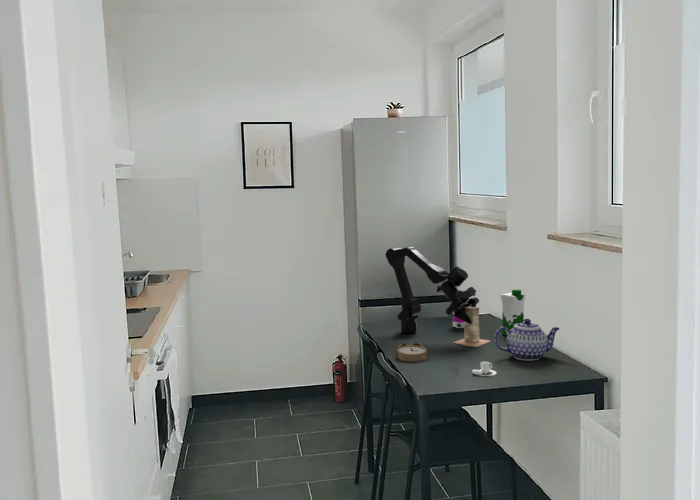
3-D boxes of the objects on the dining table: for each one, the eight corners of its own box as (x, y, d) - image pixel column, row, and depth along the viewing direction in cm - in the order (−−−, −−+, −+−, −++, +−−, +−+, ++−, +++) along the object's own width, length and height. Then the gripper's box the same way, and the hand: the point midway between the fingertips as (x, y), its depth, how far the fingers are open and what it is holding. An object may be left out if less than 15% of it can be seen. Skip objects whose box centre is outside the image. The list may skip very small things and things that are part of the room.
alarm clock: (399, 355, 251) (394, 339, 266) (399, 367, 253) (394, 350, 267) (429, 354, 252) (422, 338, 266) (428, 366, 253) (422, 349, 268)
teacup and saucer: (473, 377, 231) (472, 365, 231) (470, 370, 239) (469, 359, 239) (498, 377, 231) (498, 365, 231) (494, 370, 239) (494, 359, 238)
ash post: (464, 341, 279) (463, 308, 278) (470, 339, 282) (469, 306, 282) (474, 342, 276) (473, 308, 275) (480, 340, 279) (479, 307, 279)
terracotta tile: (453, 343, 279) (453, 342, 279) (468, 338, 287) (468, 337, 287) (476, 347, 271) (476, 345, 271) (490, 342, 279) (490, 340, 279)
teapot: (497, 363, 247) (497, 323, 246) (490, 352, 262) (490, 315, 261) (565, 362, 246) (566, 322, 245) (554, 351, 262) (554, 314, 260)
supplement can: (472, 329, 305) (471, 296, 303) (454, 329, 305) (453, 297, 304) (469, 325, 313) (469, 293, 312) (451, 325, 313) (451, 294, 312)
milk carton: (513, 337, 286) (513, 292, 284) (498, 334, 293) (498, 289, 291) (527, 335, 290) (527, 289, 288) (512, 331, 298) (512, 287, 296)
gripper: (451, 284, 272) (475, 313, 266) (475, 278, 286) (498, 306, 280) (435, 301, 278) (458, 330, 272) (459, 294, 292) (482, 322, 286)
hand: (475, 322), depth 277 cm, fingers open, 6 cm apart
